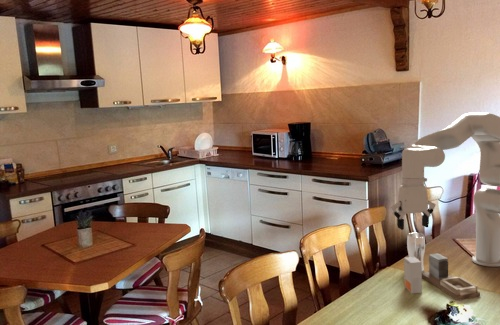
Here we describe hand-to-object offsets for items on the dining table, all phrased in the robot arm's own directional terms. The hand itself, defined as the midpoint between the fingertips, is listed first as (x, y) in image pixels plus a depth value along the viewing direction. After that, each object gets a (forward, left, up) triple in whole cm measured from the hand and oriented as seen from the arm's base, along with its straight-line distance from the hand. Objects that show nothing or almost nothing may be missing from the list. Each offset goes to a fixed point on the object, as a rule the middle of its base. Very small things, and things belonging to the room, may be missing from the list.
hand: (413, 227), depth 163 cm
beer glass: (-11, -16, -24) cm, 31 cm away
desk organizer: (-13, +2, -24) cm, 27 cm away
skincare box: (+1, +1, -24) cm, 24 cm away
